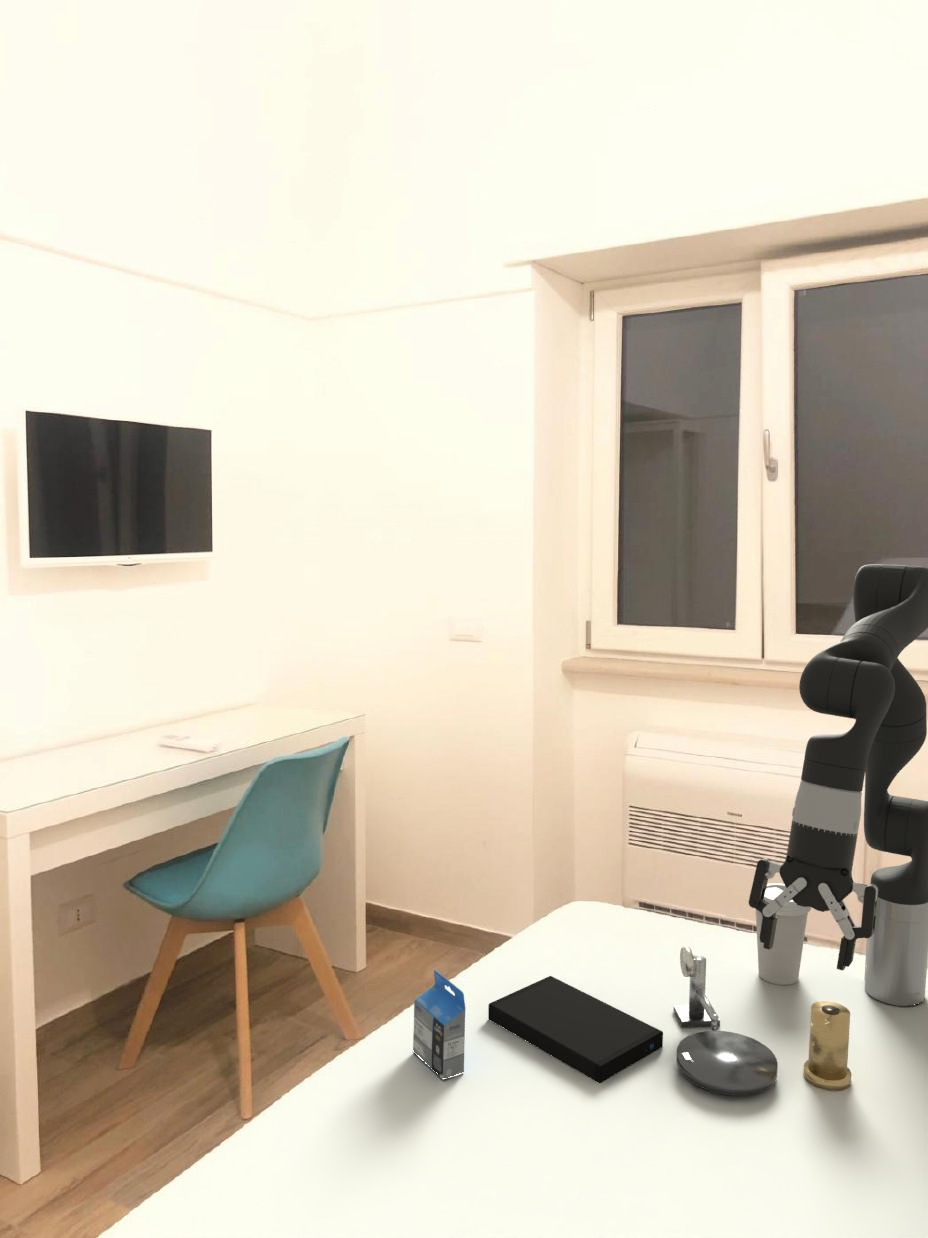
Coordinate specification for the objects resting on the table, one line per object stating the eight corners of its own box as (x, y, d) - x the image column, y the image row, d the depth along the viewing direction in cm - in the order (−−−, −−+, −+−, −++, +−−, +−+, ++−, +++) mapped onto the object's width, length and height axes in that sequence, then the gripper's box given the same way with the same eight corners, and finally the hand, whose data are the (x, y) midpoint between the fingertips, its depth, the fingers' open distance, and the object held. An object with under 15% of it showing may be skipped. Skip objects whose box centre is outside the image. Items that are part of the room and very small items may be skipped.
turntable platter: (665, 1041, 155) (665, 1030, 154) (757, 1038, 155) (757, 1027, 155) (691, 1097, 141) (692, 1085, 141) (792, 1093, 142) (792, 1081, 141)
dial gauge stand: (673, 1011, 165) (675, 941, 164) (710, 1010, 166) (712, 940, 164) (694, 1053, 153) (697, 978, 152) (734, 1051, 154) (737, 977, 152)
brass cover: (796, 1066, 150) (799, 999, 149) (839, 1064, 151) (843, 997, 149) (813, 1092, 144) (817, 1022, 142) (858, 1090, 144) (862, 1020, 143)
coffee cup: (815, 990, 172) (819, 904, 170) (757, 989, 172) (761, 903, 170) (797, 963, 182) (801, 881, 180) (743, 962, 182) (746, 881, 180)
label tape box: (411, 1053, 153) (411, 975, 152) (435, 1045, 156) (435, 968, 154) (442, 1082, 146) (442, 1000, 144) (466, 1074, 148) (466, 993, 146)
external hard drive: (551, 992, 172) (551, 975, 172) (662, 1050, 155) (663, 1031, 155) (488, 1021, 163) (488, 1004, 163) (599, 1086, 146) (600, 1066, 145)
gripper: (892, 835, 124) (870, 970, 123) (772, 808, 131) (751, 936, 130) (883, 840, 117) (861, 983, 117) (758, 812, 124) (736, 946, 124)
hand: (803, 958), depth 123 cm, fingers open, 8 cm apart
